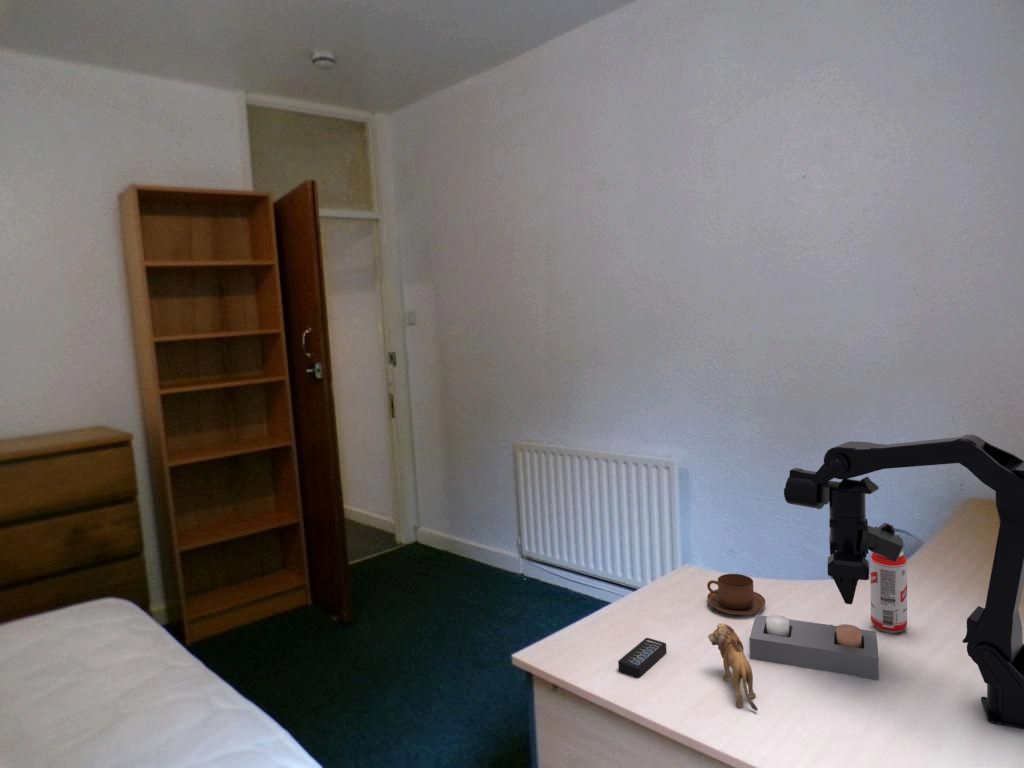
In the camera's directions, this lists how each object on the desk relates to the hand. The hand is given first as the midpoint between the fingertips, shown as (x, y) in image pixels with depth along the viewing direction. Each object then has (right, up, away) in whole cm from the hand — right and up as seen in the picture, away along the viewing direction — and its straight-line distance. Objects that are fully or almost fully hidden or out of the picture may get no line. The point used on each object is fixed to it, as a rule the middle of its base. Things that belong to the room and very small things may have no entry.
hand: (848, 597), depth 118 cm
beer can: (+14, -10, +12) cm, 21 cm away
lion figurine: (-22, -14, -4) cm, 26 cm away
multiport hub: (-36, -15, +6) cm, 39 cm away
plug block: (-5, -12, +4) cm, 13 cm away
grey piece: (-10, -10, +6) cm, 15 cm away
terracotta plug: (+1, -9, +1) cm, 10 cm away
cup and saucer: (-12, -11, +25) cm, 30 cm away
